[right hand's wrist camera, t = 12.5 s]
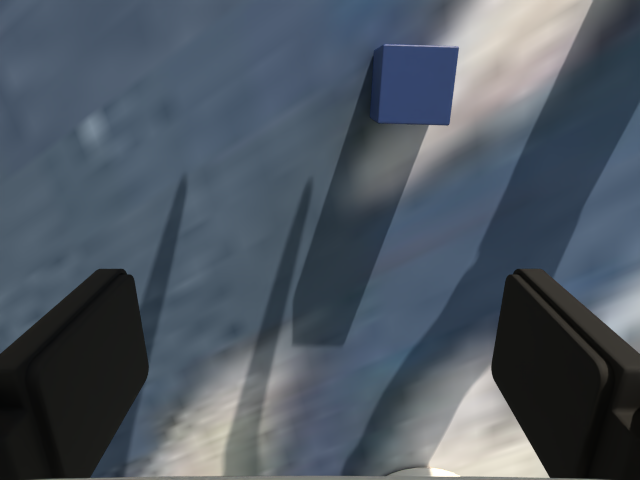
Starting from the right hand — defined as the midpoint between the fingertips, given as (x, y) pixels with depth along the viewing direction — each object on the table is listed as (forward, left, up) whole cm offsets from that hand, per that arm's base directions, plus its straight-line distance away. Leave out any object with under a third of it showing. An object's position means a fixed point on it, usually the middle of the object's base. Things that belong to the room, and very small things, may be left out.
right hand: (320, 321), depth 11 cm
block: (0, -8, -22) cm, 23 cm away
